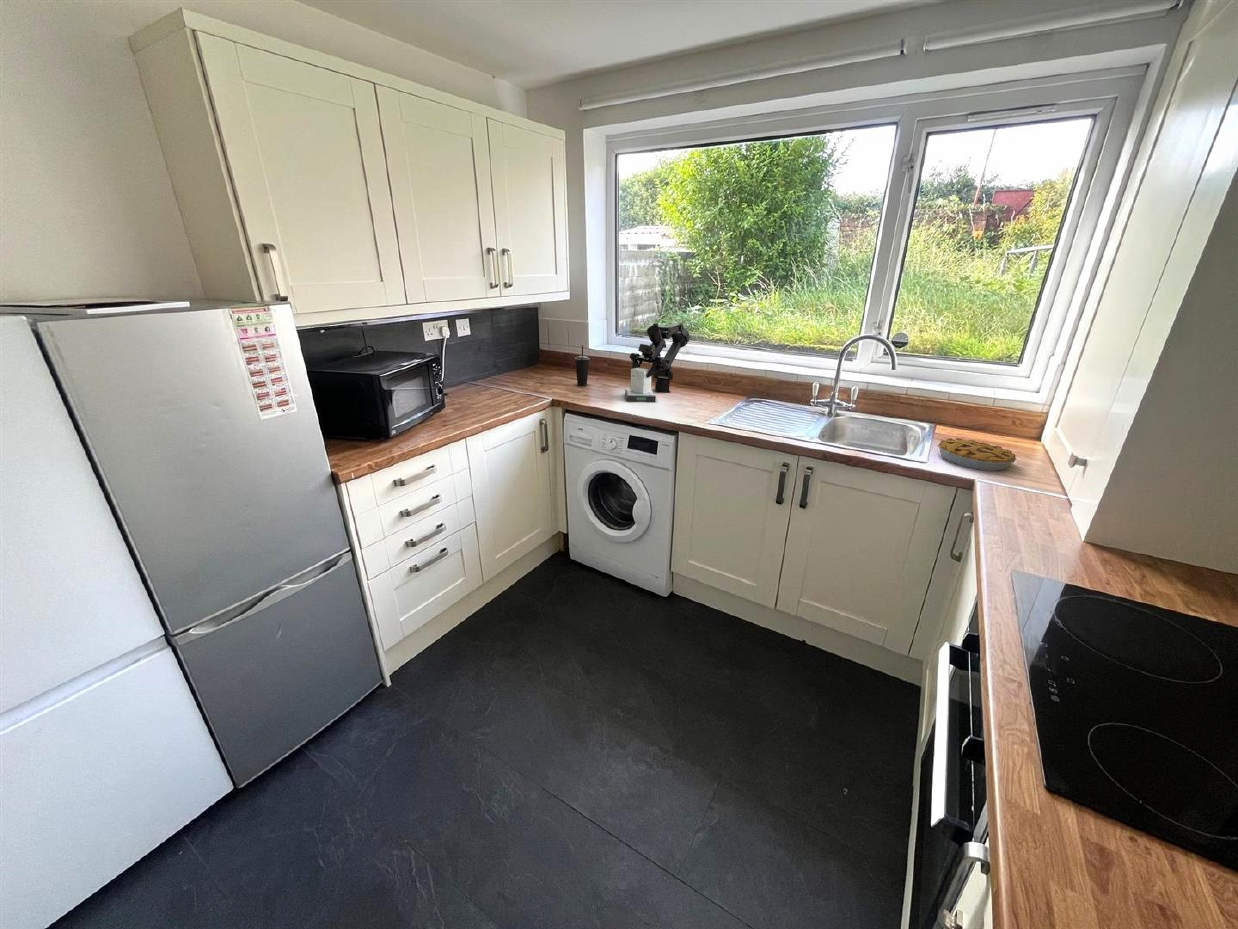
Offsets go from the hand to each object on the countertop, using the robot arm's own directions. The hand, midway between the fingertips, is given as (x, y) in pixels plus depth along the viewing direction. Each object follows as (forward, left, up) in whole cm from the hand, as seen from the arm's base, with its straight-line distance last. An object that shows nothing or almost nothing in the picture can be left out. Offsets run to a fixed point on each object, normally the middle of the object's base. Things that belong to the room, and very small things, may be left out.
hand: (639, 375), depth 228 cm
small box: (-1, -1, -8) cm, 8 cm away
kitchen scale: (-1, -1, -11) cm, 11 cm away
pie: (-105, +78, -11) cm, 131 cm away
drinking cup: (+26, -27, -11) cm, 39 cm away
